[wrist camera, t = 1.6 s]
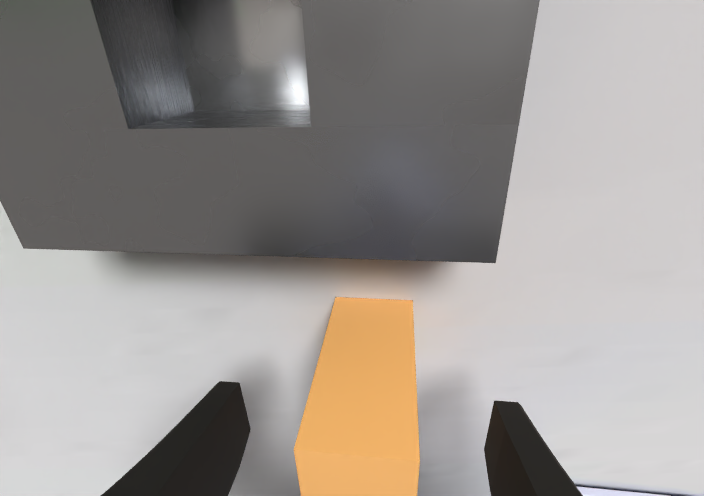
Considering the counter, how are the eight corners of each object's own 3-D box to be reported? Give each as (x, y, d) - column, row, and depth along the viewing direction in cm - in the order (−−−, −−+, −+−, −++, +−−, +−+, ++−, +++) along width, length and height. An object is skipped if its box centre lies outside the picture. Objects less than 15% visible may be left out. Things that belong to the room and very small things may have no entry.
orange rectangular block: (412, 300, 13) (419, 461, 8) (409, 359, 15) (413, 531, 9) (335, 297, 14) (293, 449, 8) (339, 354, 15) (304, 519, 10)
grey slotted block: (537, -342, 7) (660, -706, 3) (468, 222, 12) (492, 284, 8) (-226, -224, 9) (-587, -386, 6) (-6, 213, 14) (-128, 261, 11)
